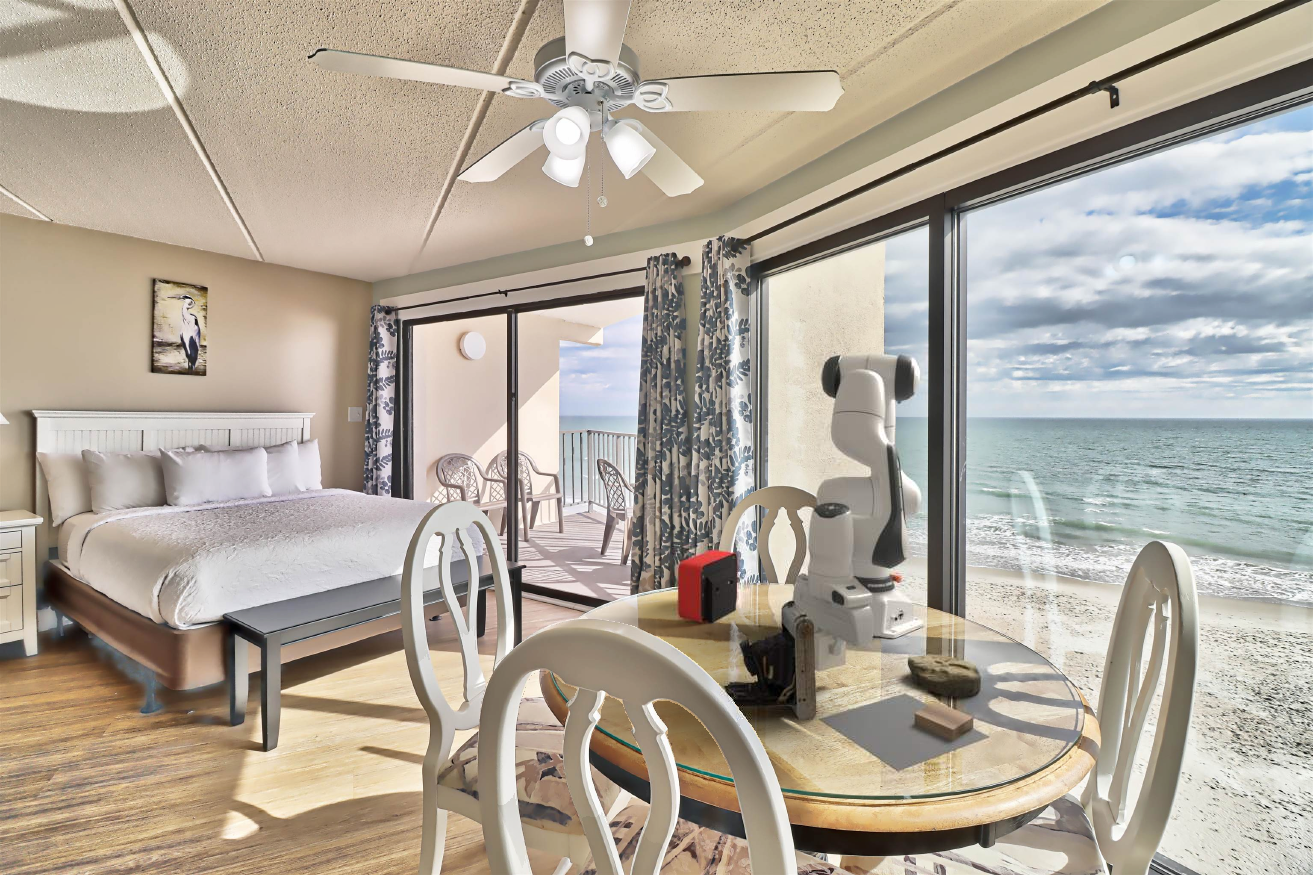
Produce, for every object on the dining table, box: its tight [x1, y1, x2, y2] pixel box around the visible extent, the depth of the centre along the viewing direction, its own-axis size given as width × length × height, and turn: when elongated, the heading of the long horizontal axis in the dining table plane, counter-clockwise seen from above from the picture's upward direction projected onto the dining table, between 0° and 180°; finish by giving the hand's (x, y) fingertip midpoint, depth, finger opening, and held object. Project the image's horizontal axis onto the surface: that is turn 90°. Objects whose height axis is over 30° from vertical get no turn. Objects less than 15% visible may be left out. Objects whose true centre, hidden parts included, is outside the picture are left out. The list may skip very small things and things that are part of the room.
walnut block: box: [914, 701, 975, 741], centre depth 111 cm, size 7×7×2 cm
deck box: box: [814, 630, 847, 672], centre depth 127 cm, size 7×2×7 cm, turn 116°
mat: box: [819, 693, 990, 772], centre depth 110 cm, size 22×18×1 cm
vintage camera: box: [723, 600, 817, 721], centre depth 116 cm, size 10×16×20 cm, turn 95°
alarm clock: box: [677, 549, 738, 624], centre depth 171 cm, size 10×20×16 cm, turn 144°
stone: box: [907, 653, 982, 698], centre depth 128 cm, size 13×13×5 cm
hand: (828, 650), depth 127 cm, fingers closed on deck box, 2 cm apart
